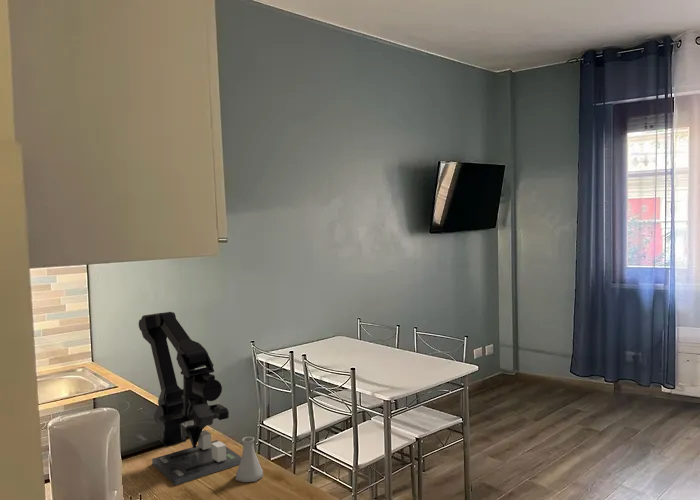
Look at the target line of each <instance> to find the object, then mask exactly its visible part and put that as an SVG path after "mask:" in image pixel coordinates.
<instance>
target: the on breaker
mask: <svg viewBox="0 0 700 500" xmlns="http://www.w3.org/2000/svg"><path fill="white" fill-rule="evenodd" d="M217 441H218V440H217ZM226 447H227V445H226V444H225V443H223V442H222V441H220V440H219V441H218V442H215V443H212V458H213V459H214V460H216V461H217V462H220V461H224V460H226Z"/></svg>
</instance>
